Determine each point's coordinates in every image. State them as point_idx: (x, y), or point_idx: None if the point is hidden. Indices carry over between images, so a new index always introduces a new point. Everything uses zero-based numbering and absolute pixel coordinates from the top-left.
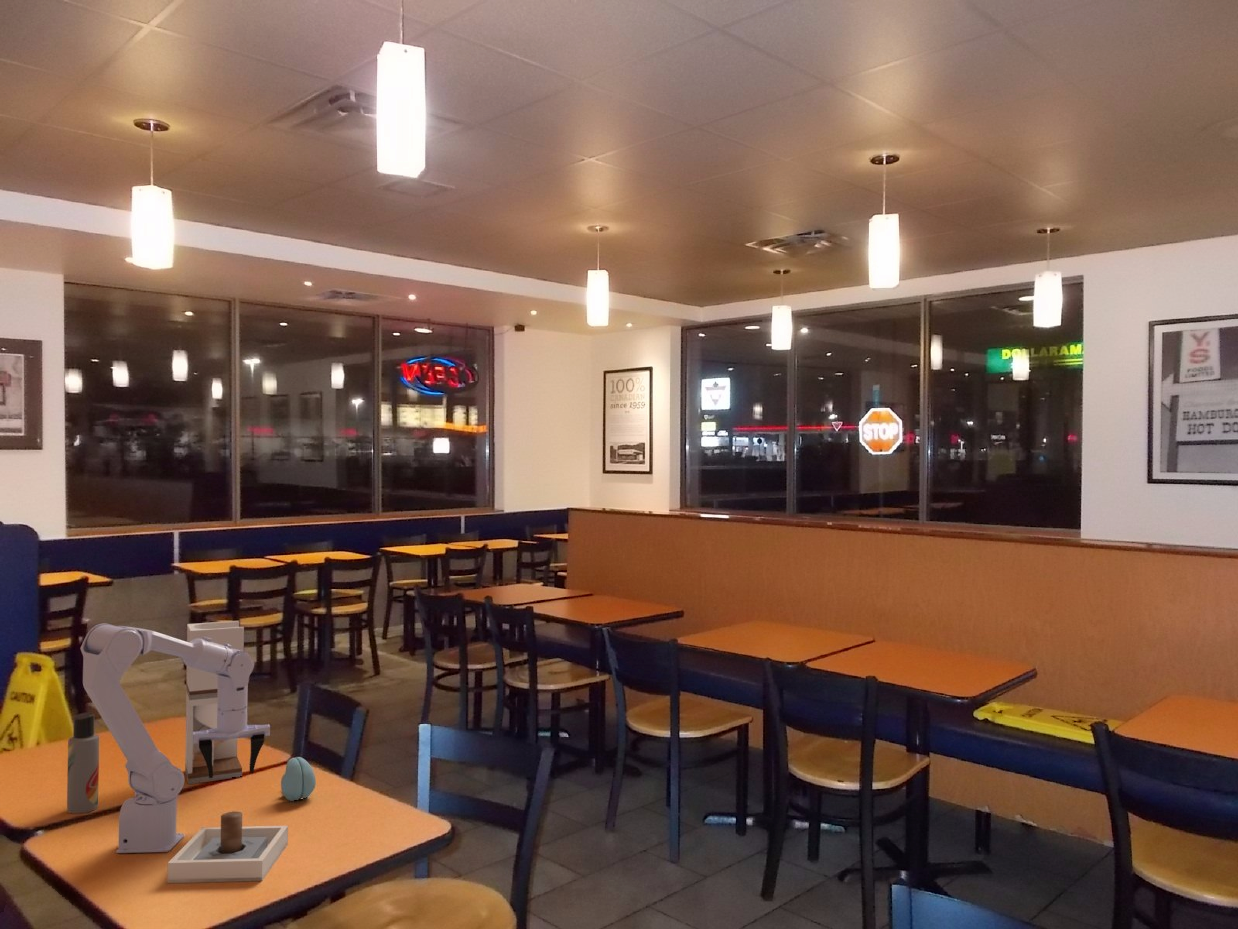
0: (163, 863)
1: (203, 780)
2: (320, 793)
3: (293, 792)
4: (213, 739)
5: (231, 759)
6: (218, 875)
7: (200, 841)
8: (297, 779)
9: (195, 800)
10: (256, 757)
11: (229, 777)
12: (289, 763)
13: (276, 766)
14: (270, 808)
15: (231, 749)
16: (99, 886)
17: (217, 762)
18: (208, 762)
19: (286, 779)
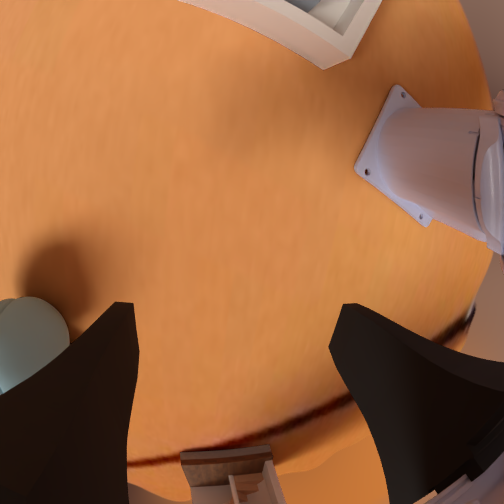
0: (399, 39)
1: (245, 450)
2: None
3: (32, 300)
4: (457, 490)
5: (199, 483)
6: None
7: (347, 17)
8: (6, 322)
9: (274, 391)
10: (56, 357)
11: (201, 453)
12: None
13: (127, 461)
14: (101, 286)
15: (200, 497)
16: (464, 39)
17: (220, 480)
18: (426, 343)
19: (38, 342)
